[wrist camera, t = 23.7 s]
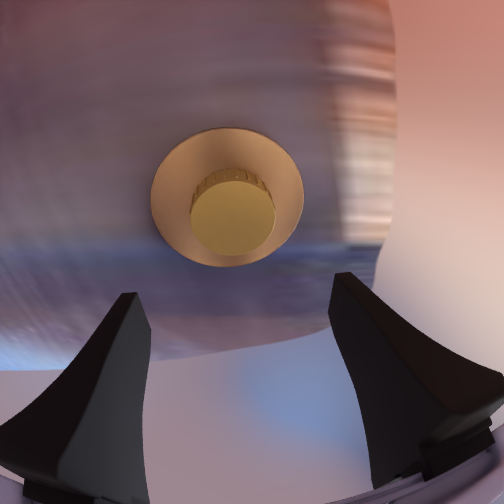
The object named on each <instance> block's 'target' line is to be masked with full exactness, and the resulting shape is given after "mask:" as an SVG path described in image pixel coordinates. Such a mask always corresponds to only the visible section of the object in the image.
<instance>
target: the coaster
mask: <svg viewBox="0 0 504 504" xmlns="http://www.w3.org/2000/svg"><path fill="white" fill-rule="evenodd" d="M235 168H237V169H239V170H244V171H246V170H248V172H249V173H252V174H253V175H257V177H258V178H259V179H260V180H261V181H262V182H263V181H264V182H265V185H266V187H267V190H269V191H270V193H271V196H272V198H273V204H274V206H275V209H276V210H275V213H276V220H275V225H274V229H273V231H272V233H271V235H270V236H269V238H268V239H267V240H266V241H265V242H264V243H263V244H262V245H261V246H260V247H258V248H257V249H255V250H253V251H251V252H249V253H246V254H242V255H235V256H228V255H221V254H217V253H214V252H212V251H210V250H208V249H207V248H205V247H204V246H203V245H202V244H201V243H200V242H199V241H198V240H197V239H196V237H195V236H194V234H193V231H192V228H191V225H190V216H191V215H189V212H190V205H191V201H192V195H193V194H194V193H195V191H196V188H197V185H200V183H201V182H202V181H203V180H204V178H207V177H208V176H209V175H211V174H213V172H218V171H221V170H224V169H235ZM303 202H304V190H303V183H302V179H301V176H300V173H299V171H298V169H297V166H296V165H295V163H294V162H293V160H292V159H291V157H290V156H289V155H288V153H287V152H286V151H285V150H284V149H283V148H282V147H281V146H280V145H278V144H277V143H276V142H275V141H273V140H272V139H270V138H268V137H267V136H265V135H262V134H260V133H258V132H255V131H252V130H248V129H243V128H236V127H222V128H214V129H209V130H206V131H202V132H200V133H197V134H195V135H192V136H191V137H189V138H187V139H185V140H184V141H182V142H181V143H180V144H178V145H177V146H176V147H174V148H173V149H172V151H171V152H170V153H169V154H168V155H167V156H166V157H165V159H164V160H163V161H162V163H161V165H160V166H159V168H158V170H157V172H156V174H155V177H154V180H153V183H152V188H151V197H150V203H151V211H152V215H153V219H154V222H155V224H156V227H157V229H158V230H159V232H160V234H161V235H162V237H163V238H164V239H165V240H166V242H167V243H168V244H169V245H170V246H171V247H172V248H173V249H175V250H176V251H177V252H179V253H180V254H182V255H183V256H185V257H187V258H188V259H191V260H193V261H195V262H198V263H201V264H205V265H210V266H217V267H233V266H240V265H245V264H249V263H252V262H255V261H258V260H260V259H262V258H264V257H266V256H267V255H269V254H271V253H272V252H274V251H275V250H276V249H278V248H279V247H280V246H281V245H282V244H283V243H284V242H285V241H286V240H287V239H288V238H289V236H290V235H291V234H292V232H293V231H294V229H295V227H296V226H297V223H298V221H299V219H300V216H301V213H302V209H303Z"/></svg>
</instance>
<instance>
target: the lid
mask: <svg viewBox="0 0 504 504" xmlns="http://www.w3.org/2000/svg"><path fill="white" fill-rule="evenodd" d="M275 210H276V209H275V206H274V204H273V198H272V196H271V193H270V191H269V190H267V187H266V185H265V182H264V181H263V182H262V181H261V180H260V179H259V178H258V177H257V175H253V174H252V173H249V172H248V170H246V171H244V170H239V169H237V168H235V169H224V170H221V171H218V172H213V174H211V175H209V176H208V177H207V178H204V180H203V181H202V182H201V183H200V185H197V188H196V191H195V193H194V194H193V195H192V201H191V205H190V212H189V215H191V216H190V225H191V228H192V231H193V234H194V236H195V237H196V239H197V240H198V241H199V242H200V243H201V244H202V245H203V246H204V247H205V248H207V249H208V250H210V251H212V252H214V253H217V254H221V255H228V256H235V255H242V254H246V253H249V252H251V251H253V250H255V249H257V248H258V247H260V246H261V245H262V244H263V243H264V242H265V241H266V240H267V239H268V238H269V236H270V235H271V233H272V231H273V229H274V225H275V220H276V213H275Z"/></svg>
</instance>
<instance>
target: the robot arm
mask: <svg viewBox="0 0 504 504" xmlns="http://www.w3.org/2000/svg"><path fill="white" fill-rule="evenodd" d="M328 315H329V319H330V323H331V327H332V330H333V334H334V337H335V339H336V342H337V345H338V347H339V349H340V352H341V355H342V357H343V359H344V362H345V364H346V367H347V369H348V372H349V374H350V377H351V379H352V382H353V385H354V388H355V391H356V394H357V398H358V402H359V406H360V410H361V414H362V419H363V424H364V429H365V434H366V439H367V446H368V452H369V459H370V468H371V480H372V484H373V488H374V490H372V491H369V492H367V493H363V494H360V495H357V496H353V497H350V498H346V499H342V500H339V501H335V502H330V503H326V504H386V503H388V502H389V503H388V504H491V503H492V502H494V501H495V500H496V499H497V498H498V497H499V496H500V495H501V494H502V493H504V424H502V425H501V426H500V427H498V428H496V429H495V430H494V431H492V432H491V431H490V429H489V426H491V425H492V421H491V418H490V416H491V415H492V414H493V413H494V412H495V411H496V410H497V409H499V408H500V407H501V406H502V405H503V404H504V376H503V374H502V373H500V372H497V371H495V370H492V369H489V368H487V367H484V366H481V365H479V364H477V363H475V362H472V361H470V360H468V359H466V358H464V357H462V356H460V355H458V354H456V353H454V352H452V351H451V350H449V349H447V348H445V347H444V346H442V345H440V344H439V343H437V342H435V341H434V340H432V339H431V338H429V337H428V336H426V335H425V334H424V333H422V332H421V331H419V330H417V329H416V328H415V327H414V326H412V325H411V324H410V323H409V322H407V321H406V320H405V319H403V318H402V317H401V316H400V315H398V314H397V313H396V312H395V311H394V310H392V309H391V308H390V307H389V306H388V305H387V304H385V303H384V302H383V301H382V300H381V299H380V298H379V297H378V296H376V295H375V294H374V293H373V292H372V291H371V290H370V289H369V288H368V287H367V286H366V285H364V284H363V283H362V282H361V281H360V280H359V279H358V278H357V277H356V276H354V275H353V274H352V273H351V272H345V273H336V274H335V277H334V282H333V288H332V293H331V299H330V304H329V309H328ZM150 347H151V328H150V325H149V323H148V320H147V318H146V315H145V312H144V310H143V307H142V304H141V302H140V299H139V296H138V293H137V292H132V293H122V294H121V295H120V296H119V298H118V299H117V300H116V302H115V303H114V305H113V306H112V307H111V309H110V310H109V312H108V313H107V315H106V316H105V318H104V319H103V320H102V322H101V323H100V325H99V326H98V327H97V329H96V330H95V332H94V333H93V335H92V336H91V337H90V339H89V340H88V341H87V343H86V344H85V345H84V347H83V348H82V349H81V351H80V352H79V353H78V355H77V356H76V357H75V358H74V360H73V361H72V362H71V363H70V364H69V366H68V367H67V368H66V369H65V370H64V371H63V372H62V373H61V375H60V376H59V377H58V378H57V379H56V380H55V381H54V382H53V383H52V384H51V385H50V386H49V387H48V388H47V389H46V390H45V391H44V392H43V393H42V394H41V395H40V396H38V397H37V398H36V399H35V400H34V401H33V402H32V403H30V404H29V405H28V406H27V407H26V408H24V409H23V410H22V411H21V412H19V413H18V414H17V415H15V416H14V417H13V418H11V419H10V420H8V421H7V422H5V423H4V424H3V425H1V426H0V465H1V466H3V467H4V468H6V469H8V470H9V471H11V472H13V473H15V474H17V475H18V476H20V477H22V478H24V485H23V484H21V483H19V482H17V481H14V480H12V479H9V478H7V477H5V476H2V475H0V504H150V501H149V496H148V490H147V483H146V476H145V467H144V456H143V437H142V411H143V401H144V393H145V386H146V379H147V372H148V366H149V359H150Z"/></svg>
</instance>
